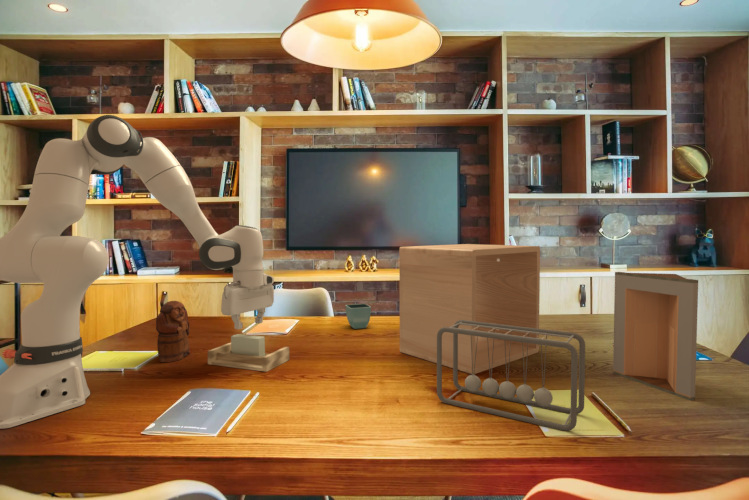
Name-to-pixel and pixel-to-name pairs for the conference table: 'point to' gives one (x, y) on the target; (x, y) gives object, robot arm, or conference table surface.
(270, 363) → the track frame
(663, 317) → the cabinet
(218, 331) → the conference table surface
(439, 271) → the storage cube
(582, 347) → the newton's cradle
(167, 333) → the wooden figurine
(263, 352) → the cream rectangular block
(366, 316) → the flower pot
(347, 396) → the conference table surface
